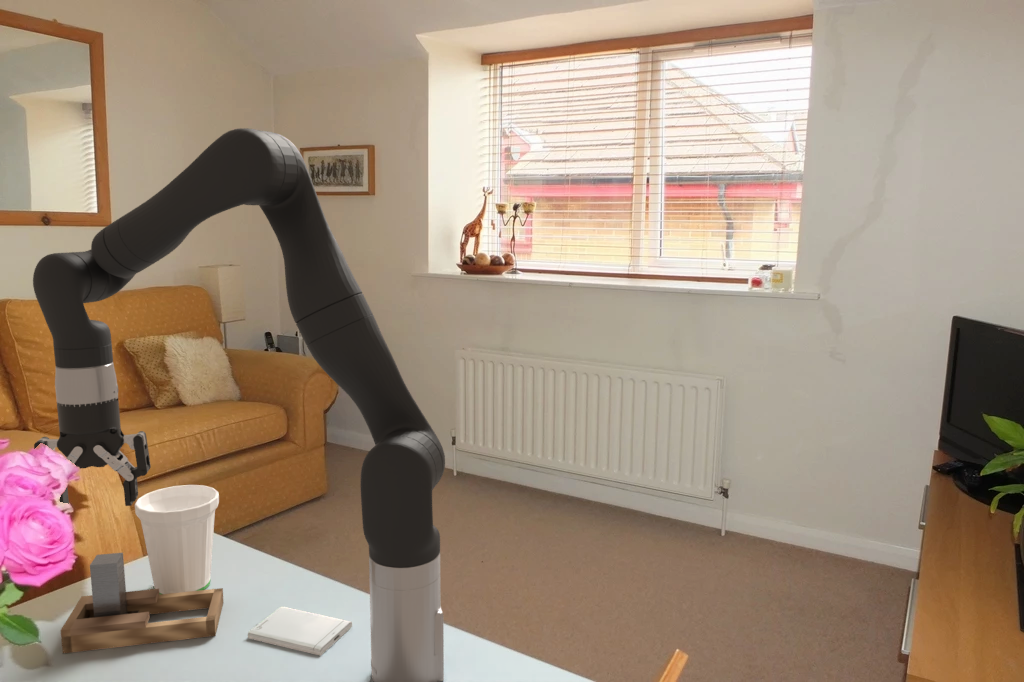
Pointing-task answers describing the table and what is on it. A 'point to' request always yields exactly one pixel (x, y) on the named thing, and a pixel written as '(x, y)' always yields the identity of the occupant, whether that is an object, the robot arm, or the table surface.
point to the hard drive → (300, 630)
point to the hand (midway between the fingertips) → (97, 506)
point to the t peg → (109, 585)
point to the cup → (179, 536)
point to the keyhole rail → (141, 620)
